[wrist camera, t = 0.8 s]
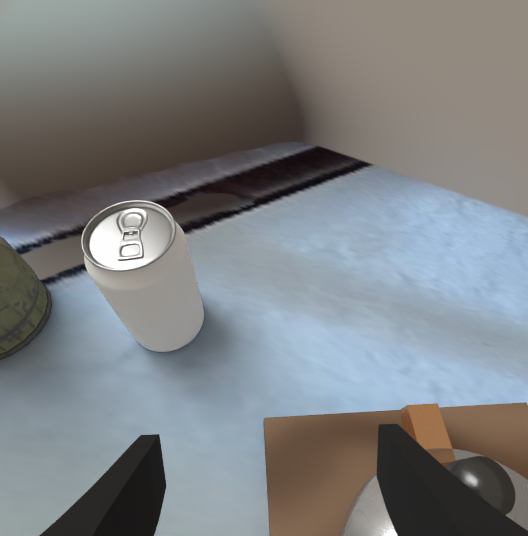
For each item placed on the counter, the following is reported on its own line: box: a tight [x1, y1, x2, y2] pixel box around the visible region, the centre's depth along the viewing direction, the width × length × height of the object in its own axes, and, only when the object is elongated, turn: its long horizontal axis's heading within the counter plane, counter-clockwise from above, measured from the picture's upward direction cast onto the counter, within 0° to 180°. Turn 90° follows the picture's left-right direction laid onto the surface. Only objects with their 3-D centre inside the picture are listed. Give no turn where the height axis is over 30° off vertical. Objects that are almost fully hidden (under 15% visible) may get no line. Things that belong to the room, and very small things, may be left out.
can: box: [81, 200, 204, 352], centre depth 26 cm, size 6×6×12 cm
